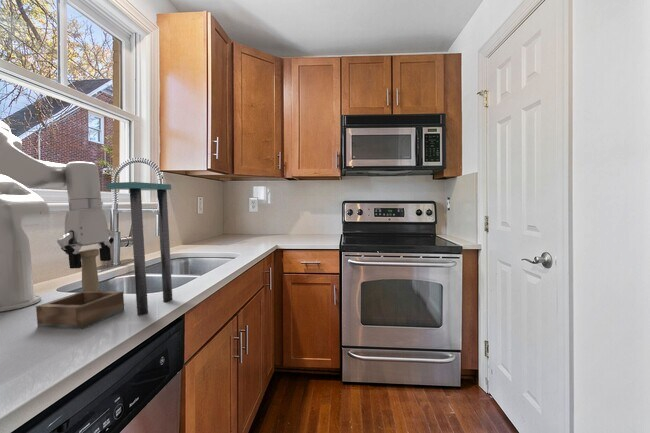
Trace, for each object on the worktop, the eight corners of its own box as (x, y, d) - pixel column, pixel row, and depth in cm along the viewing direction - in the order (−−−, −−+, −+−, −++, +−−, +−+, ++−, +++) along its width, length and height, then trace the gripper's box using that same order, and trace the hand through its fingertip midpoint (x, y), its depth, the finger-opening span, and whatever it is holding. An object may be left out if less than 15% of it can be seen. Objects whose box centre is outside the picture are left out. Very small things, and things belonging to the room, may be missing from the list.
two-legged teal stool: (115, 315, 77) (106, 183, 75) (153, 298, 91) (147, 185, 89) (142, 316, 76) (134, 181, 74) (177, 298, 90) (170, 184, 88)
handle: (79, 306, 86) (75, 253, 85) (82, 299, 91) (79, 250, 90) (100, 302, 88) (97, 251, 87) (102, 296, 94) (99, 248, 93)
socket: (37, 327, 71) (35, 306, 71) (84, 308, 83) (83, 290, 83) (82, 329, 70) (81, 307, 69) (124, 310, 81) (123, 291, 81)
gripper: (100, 205, 97) (105, 258, 98) (43, 207, 80) (50, 271, 81) (121, 204, 96) (126, 258, 97) (67, 205, 79) (74, 271, 80)
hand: (91, 264), depth 89 cm, fingers open, 9 cm apart
